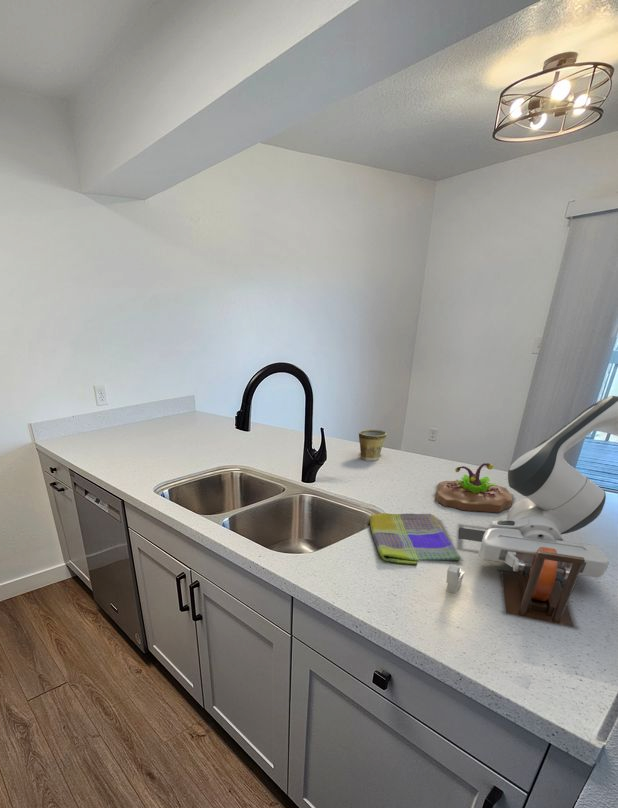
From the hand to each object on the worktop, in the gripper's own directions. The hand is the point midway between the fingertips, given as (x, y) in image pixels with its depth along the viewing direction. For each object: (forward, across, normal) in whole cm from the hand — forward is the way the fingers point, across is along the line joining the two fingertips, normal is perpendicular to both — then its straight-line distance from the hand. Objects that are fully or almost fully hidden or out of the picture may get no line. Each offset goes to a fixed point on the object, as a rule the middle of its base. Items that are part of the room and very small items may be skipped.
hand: (543, 572), depth 80 cm
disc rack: (-1, 0, -7) cm, 7 cm away
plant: (-53, +10, -7) cm, 54 cm away
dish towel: (-19, +24, -7) cm, 31 cm away
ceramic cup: (-87, +45, -7) cm, 98 cm away
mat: (-23, +3, -7) cm, 24 cm away
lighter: (+3, +14, -7) cm, 16 cm away
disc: (-1, 0, -6) cm, 6 cm away
